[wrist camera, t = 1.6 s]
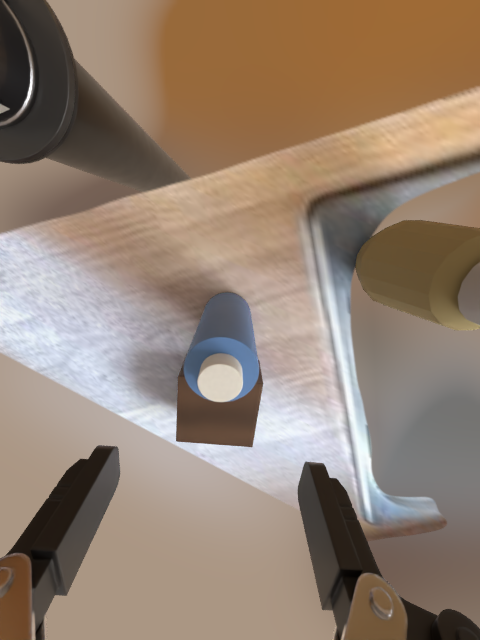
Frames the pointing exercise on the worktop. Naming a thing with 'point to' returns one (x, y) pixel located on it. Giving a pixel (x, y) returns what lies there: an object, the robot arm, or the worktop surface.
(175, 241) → the worktop surface
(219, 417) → the walnut block
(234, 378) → the blue bottle
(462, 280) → the squeeze bottle
